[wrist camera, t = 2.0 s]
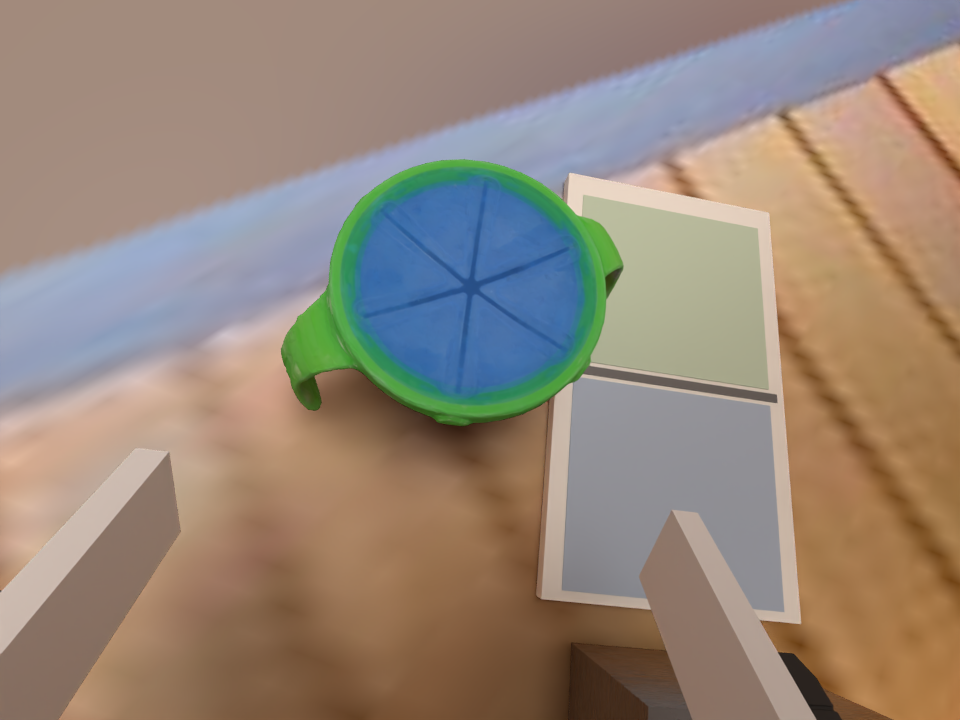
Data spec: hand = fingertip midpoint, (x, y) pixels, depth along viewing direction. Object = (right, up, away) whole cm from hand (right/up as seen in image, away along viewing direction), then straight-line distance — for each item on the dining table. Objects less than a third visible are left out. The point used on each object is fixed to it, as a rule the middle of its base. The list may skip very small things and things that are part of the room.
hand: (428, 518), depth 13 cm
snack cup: (0, +4, +15) cm, 15 cm away
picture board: (+13, +3, +16) cm, 21 cm away
